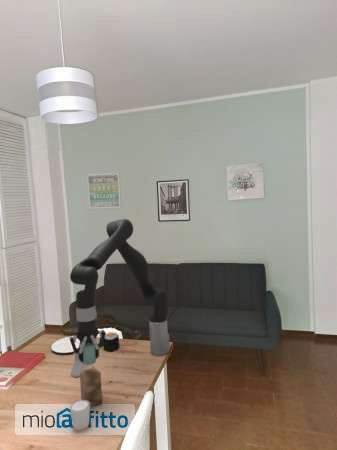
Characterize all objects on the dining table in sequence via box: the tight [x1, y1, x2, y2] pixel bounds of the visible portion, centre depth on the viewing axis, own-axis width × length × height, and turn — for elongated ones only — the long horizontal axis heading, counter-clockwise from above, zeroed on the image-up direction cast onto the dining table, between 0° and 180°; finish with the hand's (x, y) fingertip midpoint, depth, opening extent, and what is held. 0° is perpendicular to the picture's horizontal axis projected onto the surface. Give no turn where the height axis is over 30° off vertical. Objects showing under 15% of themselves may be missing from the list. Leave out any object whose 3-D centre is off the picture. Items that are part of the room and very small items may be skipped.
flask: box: [70, 352, 88, 378], centre depth 144 cm, size 7×7×10 cm
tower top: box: [79, 366, 102, 394], centre depth 122 cm, size 6×6×6 cm
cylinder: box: [82, 343, 97, 366], centre depth 121 cm, size 5×5×7 cm
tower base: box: [79, 384, 103, 409], centre depth 123 cm, size 7×7×6 cm
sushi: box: [102, 331, 120, 353], centre depth 167 cm, size 8×8×8 cm
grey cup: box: [69, 399, 91, 431], centre depth 110 cm, size 7×7×7 cm
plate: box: [50, 335, 80, 354], centre depth 172 cm, size 21×21×2 cm
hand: (89, 359), depth 122 cm, fingers closed on cylinder, 5 cm apart
